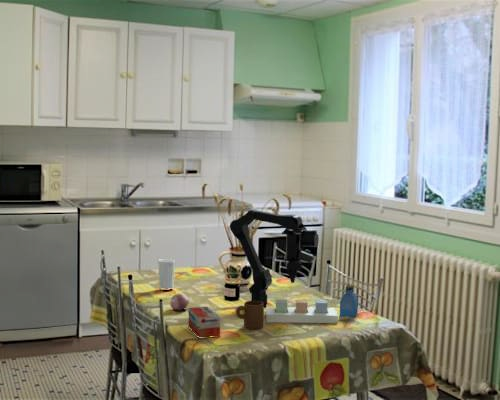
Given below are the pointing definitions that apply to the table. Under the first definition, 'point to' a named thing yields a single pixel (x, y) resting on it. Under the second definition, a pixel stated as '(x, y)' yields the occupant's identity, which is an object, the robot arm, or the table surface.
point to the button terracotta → (301, 306)
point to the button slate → (321, 306)
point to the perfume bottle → (349, 303)
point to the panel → (301, 315)
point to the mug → (252, 314)
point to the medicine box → (204, 321)
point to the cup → (166, 273)
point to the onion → (179, 301)
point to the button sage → (281, 305)
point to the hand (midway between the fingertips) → (292, 281)
